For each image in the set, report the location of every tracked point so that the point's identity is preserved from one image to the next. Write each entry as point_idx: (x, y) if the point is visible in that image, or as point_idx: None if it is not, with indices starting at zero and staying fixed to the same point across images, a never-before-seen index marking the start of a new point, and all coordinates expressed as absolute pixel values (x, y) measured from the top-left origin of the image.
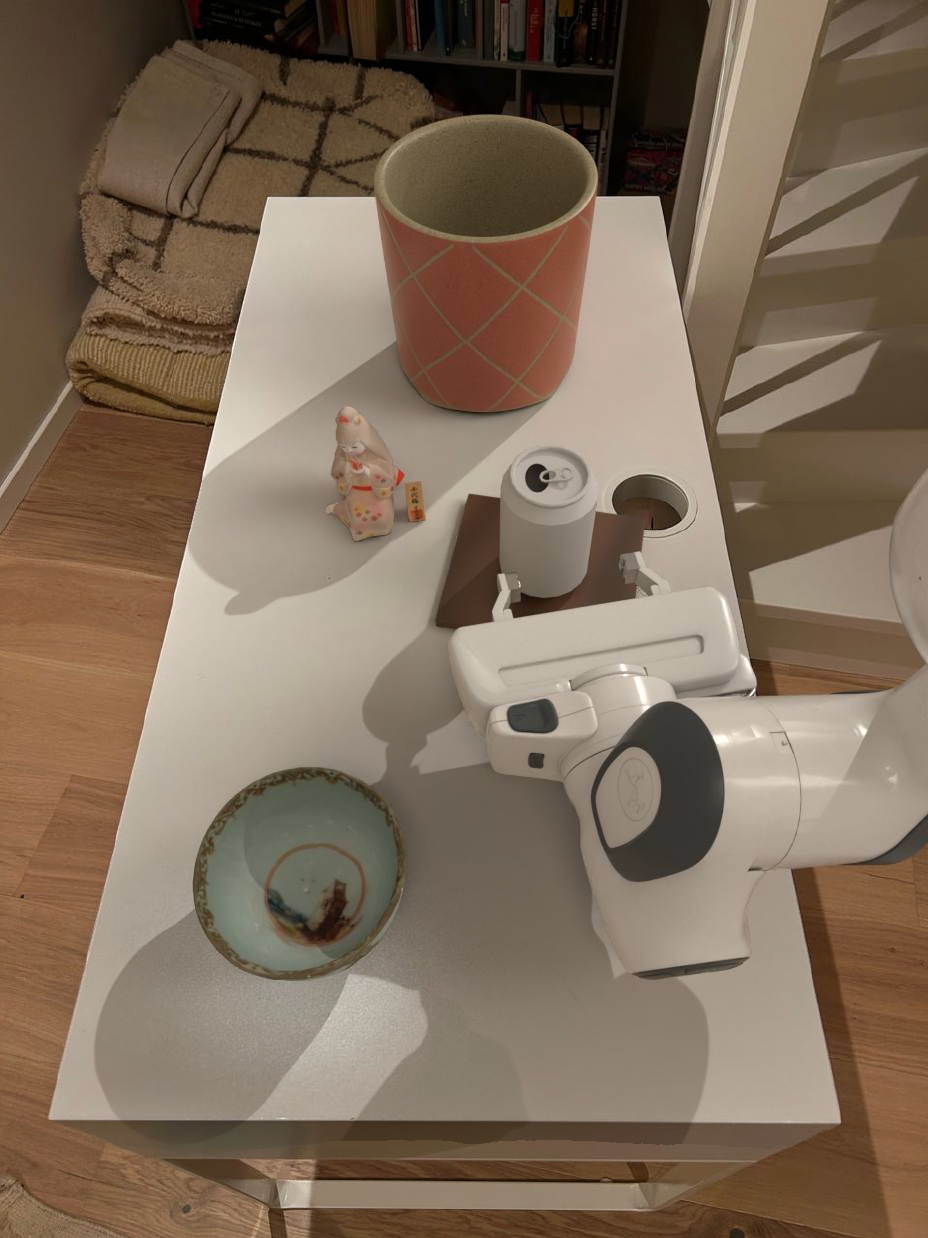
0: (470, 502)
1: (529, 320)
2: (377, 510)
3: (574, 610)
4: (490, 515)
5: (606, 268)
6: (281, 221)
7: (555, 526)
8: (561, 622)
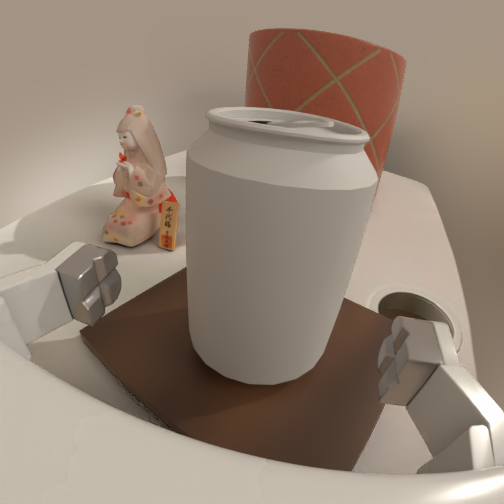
0: None
1: (339, 117)
2: (130, 219)
3: (95, 414)
4: None
5: (401, 190)
6: None
7: (250, 186)
8: (8, 417)
